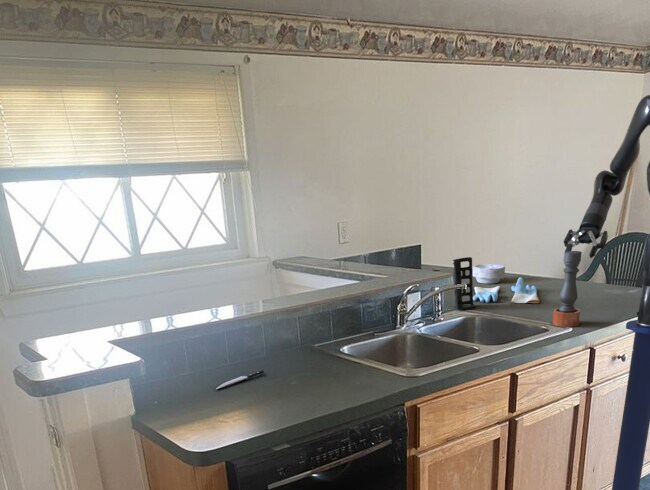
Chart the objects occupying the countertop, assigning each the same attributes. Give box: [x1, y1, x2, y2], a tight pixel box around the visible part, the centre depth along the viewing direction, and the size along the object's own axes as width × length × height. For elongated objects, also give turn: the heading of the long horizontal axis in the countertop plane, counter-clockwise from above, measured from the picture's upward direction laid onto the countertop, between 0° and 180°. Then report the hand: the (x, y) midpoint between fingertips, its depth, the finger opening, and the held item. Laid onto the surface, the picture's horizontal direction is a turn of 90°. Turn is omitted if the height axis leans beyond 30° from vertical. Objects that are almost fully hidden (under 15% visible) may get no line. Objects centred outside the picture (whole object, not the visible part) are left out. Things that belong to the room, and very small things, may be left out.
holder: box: [452, 256, 475, 311], centre depth 267 cm, size 11×8×20 cm
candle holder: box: [558, 250, 583, 313], centre depth 234 cm, size 6×6×25 cm
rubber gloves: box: [473, 277, 540, 304], centre depth 287 cm, size 27×33×6 cm
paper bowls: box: [472, 263, 506, 285], centre depth 317 cm, size 15×15×8 cm
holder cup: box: [552, 307, 581, 328], centre depth 238 cm, size 9×9×5 cm
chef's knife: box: [215, 369, 265, 390], centre depth 194 cm, size 19×1×3 cm
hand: (578, 255), depth 234 cm, fingers open, 8 cm apart
